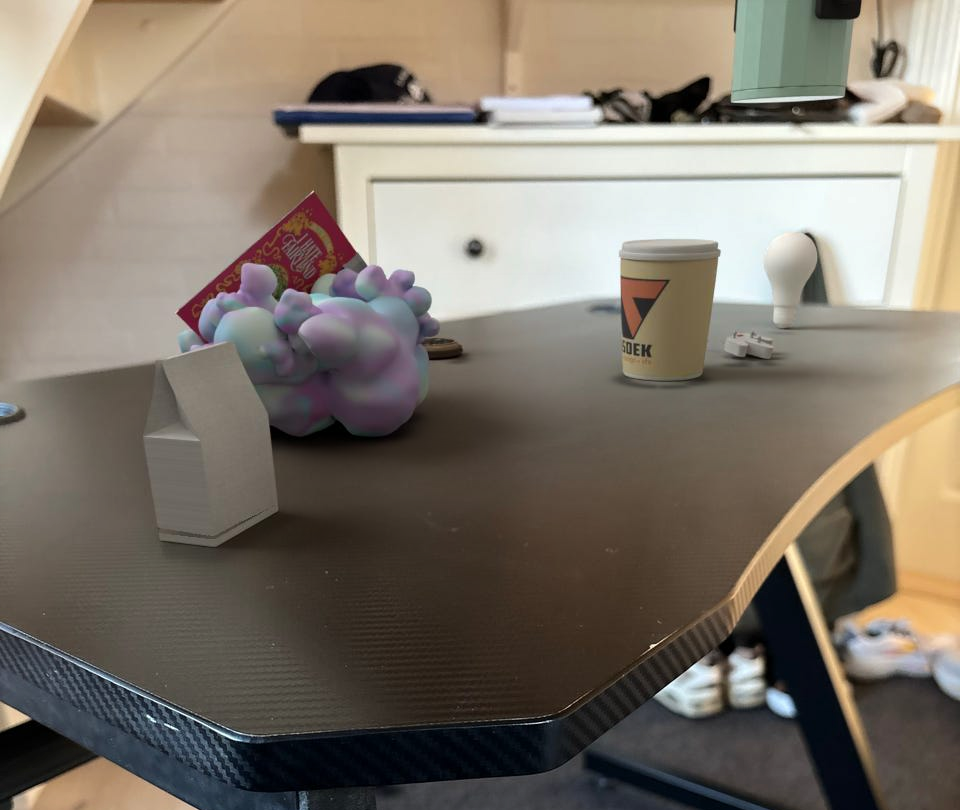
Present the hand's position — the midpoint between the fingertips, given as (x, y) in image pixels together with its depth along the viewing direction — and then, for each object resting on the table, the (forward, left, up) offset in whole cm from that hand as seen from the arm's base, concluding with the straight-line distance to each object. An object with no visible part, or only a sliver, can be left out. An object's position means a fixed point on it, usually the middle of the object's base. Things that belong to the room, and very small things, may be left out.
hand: (793, 25), depth 68 cm
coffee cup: (+8, -20, -27) cm, 35 cm away
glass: (0, 0, -4) cm, 4 cm away
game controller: (+2, -32, -27) cm, 42 cm away
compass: (+34, -29, -27) cm, 52 cm away
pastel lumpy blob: (+35, +5, -27) cm, 45 cm away
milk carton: (+31, +30, -27) cm, 51 cm away
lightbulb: (-5, -51, -27) cm, 58 cm away
